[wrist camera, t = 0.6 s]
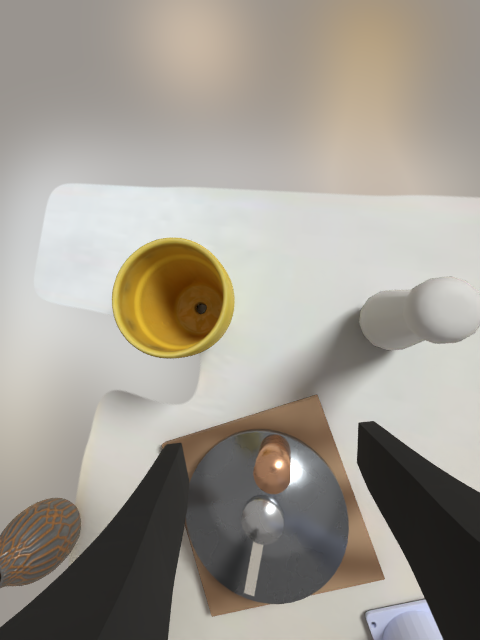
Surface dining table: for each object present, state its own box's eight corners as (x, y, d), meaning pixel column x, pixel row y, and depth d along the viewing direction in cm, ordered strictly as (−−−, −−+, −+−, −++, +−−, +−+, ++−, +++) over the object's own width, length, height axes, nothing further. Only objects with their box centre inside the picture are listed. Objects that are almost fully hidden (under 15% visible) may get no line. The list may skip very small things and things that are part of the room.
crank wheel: (330, 617, 28) (343, 701, 21) (176, 562, 31) (145, 622, 24) (359, 450, 28) (379, 483, 22) (205, 412, 31) (182, 431, 25)
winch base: (381, 570, 29) (385, 579, 28) (214, 607, 31) (211, 616, 30) (317, 394, 31) (317, 396, 30) (165, 441, 33) (161, 445, 32)
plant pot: (216, 248, 34) (186, 211, 24) (263, 322, 32) (252, 315, 23) (145, 296, 35) (90, 280, 25) (188, 371, 33) (146, 383, 24)
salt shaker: (346, 337, 31) (386, 335, 18) (365, 286, 31) (418, 248, 18) (402, 357, 30) (487, 370, 17) (422, 305, 30) (521, 279, 17)
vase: (94, 493, 34) (29, 544, 26) (88, 554, 34) (19, 626, 25) (44, 483, 36) (-35, 529, 27) (37, 542, 35) (-45, 607, 27)
